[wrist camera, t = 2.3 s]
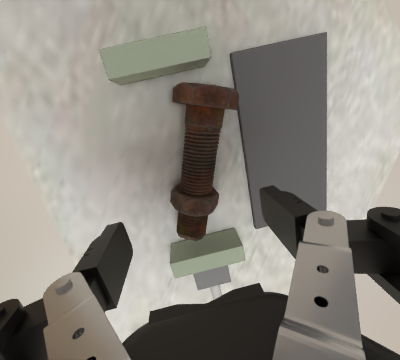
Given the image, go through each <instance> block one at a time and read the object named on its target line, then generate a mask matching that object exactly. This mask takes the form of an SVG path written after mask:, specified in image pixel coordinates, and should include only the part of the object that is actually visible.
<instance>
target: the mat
mask: <svg viewBox="0 0 400 360" xmlns="http://www.w3.org/2000/svg"><path fill="white" fill-rule="evenodd" d="M230 57H231V65H232V72H233V79H234V86H235V90H237V91H238V93H239V102H238V114H239V121H240V128H241V136H242V143H243V150H244V157H245V164H246V171H247V178H248V185H249V192H250V199H251V207H252V214H253V221H254V227H255V228H256V229H258V228H262V227H266V226H268V225H267V224H266V222H265V220H264V218H263V215H262V209H261V201H260V193H259V190H260V188H263V187H267V186H271V185H274V186H275V187H277V188H278V189H279V190H281V191H287V192H290V193H293V194H295V195H296V196H297V197H299V198H300V199H302V200H303V201H304V202H306V203H308V204H309V205H310V206H312V207H313V208H315V209H316V210H318V211H326V164H327V32H324V33H319V34H315V35H310V36H306V37H301V38H297V39H292V40H288V41H283V42H278V43H274V44H269V45H265V46H260V47H256V48H251V49H247V50H242V51H237V52H233V53H231V54H230Z"/></svg>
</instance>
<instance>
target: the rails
mask: <svg viewBox="0 0 400 360" xmlns="http://www.w3.org/2000/svg"><path fill="white" fill-rule="evenodd" d="M99 52H100V55H101V58H102V61H103V64H104V67H105V70H106V73H107V76H108V79H109V80H111V81H113V82H115V83H117V84H120V85H122V84H127V83H131V82H136V81H140V80H145V79H149V78H154V77H159V76H163V75H168V74H172V73H177V72H181V71H186V70H190V69H195V68H199V67H204V66H205V65H206V64H207V62H208V61H209V59H210V58H211V54H210V48H209V42H208V36H207V30H206V27H201V28H197V29H192V30H187V31H183V32H178V33H173V34H169V35H164V36H159V37H155V38H150V39H145V40H141V41H136V42H131V43H127V44H122V45H117V46H113V47H108V48H103V49H99ZM241 261H245V254H244V248H243V245H242V243H241V241H240V238H239V236H238V234H237V232H236V230H235V228H232V229H228V230H224V231H220V232H216V233H212V234H208V235H205V236H203V238H202V239H201V240H198V241H192V240H184V241H180V242H176V243H172V244H171V253H170V266H171V269H172V272H173V275H174V278H179V277H183V276H186V275H190V274H193V275H194V278H195V282H196V285H197V289H198V290H201V289H205V288H209V287H210V289H211V293H212V296H213V300H215V299H216V298H218V297H220V296H222V293H221V289H220V284H224V283H228V282H231V279H230V274H229V269H228V265H229V264H233V263H237V262H241Z"/></svg>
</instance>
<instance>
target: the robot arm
mask: <svg viewBox="0 0 400 360" xmlns="http://www.w3.org/2000/svg"><path fill="white" fill-rule="evenodd" d="M259 193H260V201H261V209H262V215H263V218H264V220H265V222H266V224H267V225H268V226H269V227H270V229H271V230H272V231H273V232H274V233H275V235H276V236H277V237H278V238H279V240H280V241H281V242H282V243H283V245H284V246H285V247H286V248H287V249H288V251H289V252H290V253H291V254H292V256H293V257H294V258H295V259H296V261H295V266H294V271H293V276H292V281H291V286H290V291H289V296H287V295H284V294H280V293H275V292H264V291H263V289H262V287H261V285H260V283H257V284H253V285H249V286H246V287H242V288H238V289H234V290H232V291H230V292H228V293H226V294H224V295H222V296H220V297H218V298H216V299H215V300H213V301H211V302H209V303H206V304H177V305H173V306H169V307H165V308H162V309H158V310H154V311H150V316H149V322H148V323H147V324H145V325H143V326H142V327H140V328H139V329H137V330H136V331H135V332H134V333H132V334H131V335H130V336H129V337H128V338H127V339H126V340H125V341H124V342H123V343H121V341H120V339H119V338H118V336H117V334H116V332H115V331H114V329H113V327H112V325H111V324H110V322H109V320H108V318H107V317H106V315H105V311H107V310H111V309H115V308H117V305H118V301H119V298H120V295H121V292H122V288H123V285H124V282H125V279H126V275H127V272H128V269H129V266H130V262H131V259H132V256H133V249H132V245H131V242H130V239H129V237H128V234H127V232H126V229H125V227H124V225H123V223H122V222H119V223H115V224H111V225H107V226H106V228H105V229H104V231H103V233H102V234H101V236H99V237H98V238H96V239H95V240H94V241H93V242H92V243H91V244H90V246H89V247H88V249H87V251H86V252H85V254H84V256H83V257H82V258H81V260H80V261H79V263H78V264H77V266H76V267H75V269H74V270H73V272H72V273H70V274H67V275H65V276H63V277H61V278H59V279H58V280H56V281H55V282H54V283H52V284H51V285H50V286H49V287H48V288H47V289H46V291H45V292H44V295H43V298H42V299H40V300H38V301H36V302H34V303H31V304H29V305H27V306H25V307H23V306H22V304H21V303H20V301H19V300H18V299H11V300H7V301H5V302H2V303H0V360H400V355H399V354H397V353H395V352H393V351H391V350H390V349H388V348H386V347H384V346H382V345H380V344H379V343H377V342H375V341H373V340H371V339H369V338H367V337H366V336H364V335H362V334H361V331H360V322H359V313H358V304H357V295H356V287H355V278H354V273H357V274H368V275H369V276H370V277H371V278H372V279H373V280H374V281H375V282H376V283H377V284H378V285H380V286H381V287H382V288H383V289H384V290H385V291H386V292H387V293H388V294H389V295H390V296H391V297H393V298H394V299H395V300H396V301H397V302H398V303H399V304H400V209H398V208H392V207H376V208H372V209H370V210H369V211H368V212H367V220H346V219H345V217H343V216H342V215H340V214H338V213H336V212H332V211H318V210H316V209H315V208H313V207H312V206H310V205H309V204H308V203H306V202H304V201H303V200H302V199H300V198H299V197H297V196H296V195H295V194H293V193H290V192H287V191H281V190H279V189H278V188H277V187H275V186H274V185H271V186H267V187H263V188H260V190H259Z"/></svg>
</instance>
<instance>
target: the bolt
mask: <svg viewBox="0 0 400 360" xmlns="http://www.w3.org/2000/svg"><path fill="white" fill-rule="evenodd" d="M172 102H175V103H182V104H186V115H185V124H186V126H185V127H186V129H185V131H186V133H185V135H186V136H185V139H186V140H184V142H185V144H184V146H185V147H184V151H183V153H184V154H183V164H182V166H183V167H182V177H181V179H182V180H181V183H180V184H178V185H177V186H176V187H174V189H173V190H172V191H171V200H170V202H171V203H172V205H173V206H174V208H175V209H176V210H177V211H178V221H177V233H178V235H179V236H180V237H181V238H185V239H188V240H192V241H198V240H201V239H202V238H203V236H205V233H206V225H207V219H208V215H209V214H211V213H212V212H213V211H214V210H215V208H216V206H217V204H218V199H219V194H218V192H217V191H216V190H215V189H214V188H213V187H212V184H213V178H214V176H213V175H214V170H215V164H216V163H215V162H216V159H215V158H216V154H217V153H216V152H217V148H218V145H217V144H219V143H218V141H219V138H218V137H219V136H220V135H219V133H220V130H221V128H222V123H223V116H224V110H225V109H232V110H237V108H238V102H239V93H238V91H237V90H235V89H231V88H226V87H221V86H215V85H208V84H197V83H180V84H178V85H176V86H175V87H174V88H173V100H172Z"/></svg>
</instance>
